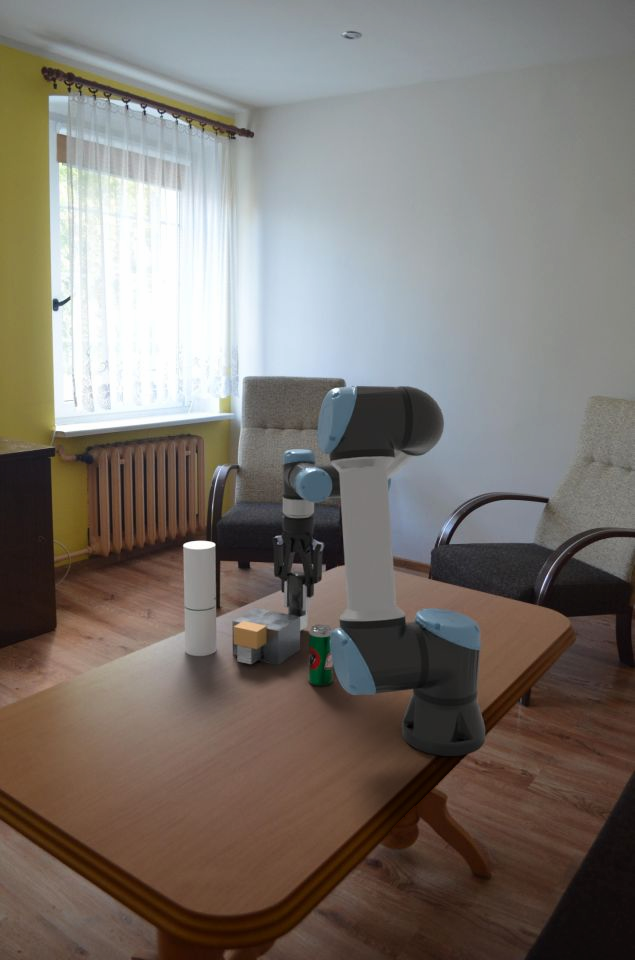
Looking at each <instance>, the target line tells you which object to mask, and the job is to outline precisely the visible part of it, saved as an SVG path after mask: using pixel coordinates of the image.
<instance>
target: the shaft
mask: <svg viewBox="0 0 635 960" xmlns="http://www.w3.org/2000/svg"><path fill="white" fill-rule="evenodd" d="M305 583H306V581H305V575H304V571H291V572H290V573H289V579H288V607H287V609H288V611H287V614H289V615H294V616H299V617H300V632H301V631H302V630H304V629H306V628H307V627H308V618H309V617H308V614H309V613H308V612H307V610H306V611H303V585H304V584H305ZM263 656H264V645H263V646H261V647H260V648H258V649H254V648H250V647H245V646H241V645H238V646H237V655H236V657H237V659H236V661H237V662H240V663H242V664H243V663H244V664H248V665H252V664H254V663H256V662H257V661H259V660H258V659H260V658H261V657H263Z"/></svg>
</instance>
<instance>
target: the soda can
mask: <svg viewBox="0 0 635 960" xmlns="http://www.w3.org/2000/svg"><path fill="white" fill-rule="evenodd" d="M332 631H333V630H332V627H331V626H330V625H327V624H315V625H311V627H310V631H309V632H308V678H307V679H308V682H309V683H310V684H311V685H313V686H316V687H325V686H329V685H330V684H331V683H332V682H333V669H334V666H333V662H332V657H331V651H330V640H331V639H330V635H331V632H332Z"/></svg>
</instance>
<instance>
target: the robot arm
mask: <svg viewBox="0 0 635 960" xmlns="http://www.w3.org/2000/svg"><path fill="white" fill-rule="evenodd" d="M444 420H445V419H444V415H443V412H442V409H441V408H440V406H439V404H438V402H437V401H436V400H435V399H434V397H433V396H431V395H430V394H429V393H427V392H425V391H424V390H422V389H419V388H418V387H413V386H409V385H408V386H407V385H406V386H405V385H402V386H401V385H399V386H382V385H381V386H380V385H379V386H376V385H375V386H374V385H373V386H369V385H368V386H366V385H364V386H363V385H362V386H361V385H351V386H344V387H334V388H332V389H330V390H329V391H328V392H327V393H326V395H325V396H324V398H323V400H322V403H321V407H320V411H319V414H318V422H317V442H318V447H319V450H320V451H321V452H322V453H324V454H326V455H328V454H329V464H323V465H322V464H319V465H318V464H317V465H316V463H317V462H316V457H315V452H314V451H313V450H310V449H304V448H303V449H302V448H301V449H300V448H298V449H295V448H294V449H288V450H286V451H284V452H283V459H282V513H283V515H282V530H283V531H282V533H281V535H276V536H275V537H272V538H271V542H272V545H273V575H274V577H275V578H279V579H280V580H281V584H280V585H281V587H280V588H281V593H283V597H284V598H283V599H284V600H283V607H284V608H287V609H288V579H289V573H290V572H292V569H293V568H292V567H293V563H294V558H295V554H296V553H297V554H299V558H300V559H301V563H302V569H303V572H304V575H305V581H306V583H305V584H304V585H303V611H306V612H307V611H308V610H310V609H311V608H312V607H311V604H312V603H311V602H312V599H311V598H313V597H314V595H315V593H314V592H315V585H316V584H318V583H320V582H321V581H322V577H323V576H322V575H323V551H324V549H325V547H326V543H325V542H323V541H318V540H316V537H315V535H314V529H315V517H314V513H315V503H321V502H323V501H324V500H326V499H336V498H337V499H338V498H340V507H341V508H340V509H341V519H342V520H341V524H342V538H343V555H344V556H343V557H344V558H343V559H344V571H345V572H344V574H345V589H346V591H345V592H346V603H347V605H346V609H345V610H344V611H343V612H342V613H341V614H340V616H339V627H336V628H334V629H333V630H332V632H331V635H330V639H331V640H330V651H331V657H332V662H333V669H334V672H335V674H336V677H337V680H338V682H339V684H340V685H341V687H342V688H343V689H344V691H345V692H346V693H348V694H349V695H353V696H362V695H363V696H364V695H369V696H375V695H376V694H383V693H393V692H401V691H402V692H403V691H408V690H412V694H411V697H410V699H409V702H408V704H407V707H406V709H405V712H404V714H403V717H402V721H401V735H402V737H403V740H404V741H405V742H407V744H408V745H410V746H411V747H412V748H415V749H416V750H419V751H421V752H424V753H426V754H431V755H435V756H443V757H460V756H465V755H469V754H473V753H474V752H476V751H478V750H480V749H481V748H482V747H483V746H484V744H485V740H486V726H485V722H484V718H483V715H482V712H481V711H482V710H481V708H480V704H479V701H478V693H479V692H478V690H479V673H480V661H481V660H480V657H481V649H482V643H481V628H480V626H479V624H478V622H476V621H475V620H474V619H473V618H471V617H470V616H468V615H465V614H463V613H460V612H457V611H454V610H451V609H450V610H449V609H443V608H438V607H437V608H436V607H435V608H434V607H431V608H430V607H429V608H428V607H427V608H422V609H420V610H418V611H417V612H415V613H416V614H415V616H414V621H409V622H407V621H406V613H405V612H404V611H403V610H402V609H401V608H400V607H399V606H398V605H397V602H396V587H395V585H396V584H395V573H394V572H395V569H394V558H393V556H394V555H393V542H392V541H393V540H392V526H391V523H392V522H391V510H390V507H391V506H390V493H389V492H390V488H391V484H392V477H393V476H394V475H395V474H397V473H398V472H399V471H400V470H401V469H403V467H405V466H406V465H407V464H408V463H410V461H411V460H413V458H415V457H420V456H423V455H426V454H427V453H429V452H430V451H431V450H432V449H433V448H434V447H435V446H436V445H437V444H438V443H439V441H440V440H441V438H442V436H443V432H444V429H445V428H444V426H445V421H444ZM284 544H285V547H286V548H285V553H284ZM311 548H312V550H313V557H312V556H311V554H312V552H311ZM284 554H285V555H284ZM312 558H313V559H312Z"/></svg>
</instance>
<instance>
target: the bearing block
mask: <svg viewBox="0 0 635 960" xmlns="http://www.w3.org/2000/svg"><path fill="white" fill-rule="evenodd" d="M243 621H246V622H251V623H256V624H260V625H265V626H267V643H266V644H264V656H263V657H261V658H260V659H258V660H257V661H260V662H262V663H267V664H272V665H276V666H280V665H281V664H282V663H283V662H285V661H286V660H288V659H289V658H290V657H292V656H293V655H294V654H296V653H297V652H298V651H300V649H301V631H300V617H299V616H294V615H289V614H288V613H283V612H278V611H275V610H274V611H273V610H268V609H263V608H259V607H255V608H252V609H251V610H249V611H247V612H245V613H244V614H243V615H241V616H239V617H237V618H235V619H234V620H232V623H231V624H232V626H231V627H232V655H234V656H237V646H238V645H236V644H234V626H236V625H238V624H239V623H241V622H243Z"/></svg>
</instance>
